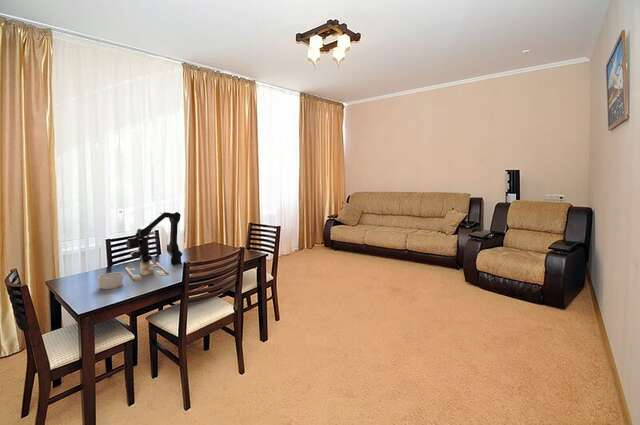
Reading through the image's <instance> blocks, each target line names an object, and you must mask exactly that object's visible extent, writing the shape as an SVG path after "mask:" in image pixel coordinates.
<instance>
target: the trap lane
mask: <svg viewBox="0 0 640 425" xmlns="http://www.w3.org/2000/svg"><path fill="white" fill-rule="evenodd" d="M153 265H154V268H155V267H158V268H159V269H160V270H156V273H158V275H159V276H160V277H163V275H164V276H167V275H168V274H169V275H170V273H169V271H168V270H167V269H166V268H164V267H163V266H162V264H160V263H159V262H157V261H156V262H155V264H153ZM135 270H136V269H135V268H134V267H132V268H129V267H125V271H126V272H127V274H128V275H129V276H130V278H131V280H132V281H133V282H136V281H141V280H143V277H142V276H140V274H139V273H138V274H133V273H132V272H131V271H135ZM162 270H163V271H162Z"/></svg>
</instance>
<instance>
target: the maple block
mask: <svg viewBox="0 0 640 425" xmlns="http://www.w3.org/2000/svg"><path fill="white" fill-rule="evenodd" d="M154 265H155V264H154V263H153V262H152V261H151V260H149V262H144V263H143V262H140V263H139V266H140V268H139V269H140V274H141V276H146V275H147V274H148V275H152V274H155V267H154Z"/></svg>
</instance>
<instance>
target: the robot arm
mask: <svg viewBox="0 0 640 425" xmlns="http://www.w3.org/2000/svg"><path fill="white" fill-rule="evenodd" d="M166 218H167V219H168V220H169V222H170V234H169V244H166V251H167V253H168V254H169V255H170V264H171V265H172V266H177V265H182V264H183V262H182V256H183V253H182V252H181V251H180V248H179V244H178V228H179V227H178V226H179V225H178V224H179V223H180V220H181V213H180V212H179V211H178V212H177V211H170V212H167V211H161V212H160V213H159V214H158V215H156V216H155V217H154V218H153V219H152V220H150V221H149V222H147V223H146V224H144V225H142V226H140V227H139V228H138V229H137V231H136V233H135V235H134V236H133V237H129V238H127V240H126V243H125V245H126V248H127V249H135V248H137V250H133V251H132V252H130V256H131V258H132V259H135V258H136V257H139V259H140V260H141V261H142V263H144V262H150V261H151V260H153V256H152V255H150V253H151V252H150V247H149V240H150V239H152V237H151V236H150V234H151V232H152V230H153V229H154V228H155V227H156V226H157V225H159V224H160V223H161V222H162V221H163V220H164V219H166Z"/></svg>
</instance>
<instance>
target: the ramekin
mask: <svg viewBox="0 0 640 425" xmlns="http://www.w3.org/2000/svg"><path fill="white" fill-rule="evenodd" d="M123 279H124V273H123V272H120V271H119V272H116V271H115V272H114V271H113V272H108V273H104V274H100V275H98V276H97V281H98V286H99V287H100V289H102V290H112V289H116V288H119V287H121V286H122V285H123V283H124V282H123Z"/></svg>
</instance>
